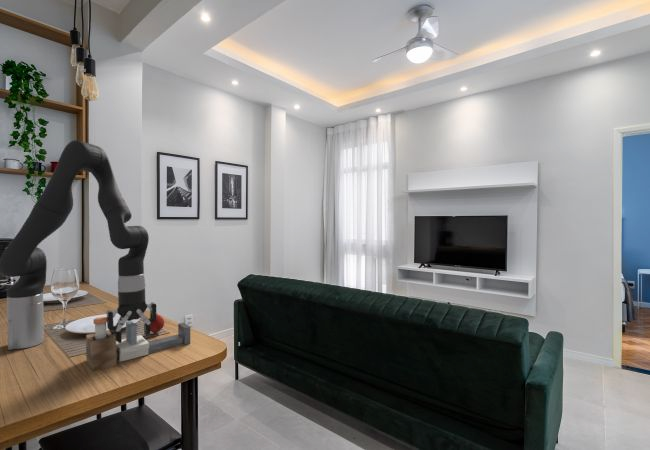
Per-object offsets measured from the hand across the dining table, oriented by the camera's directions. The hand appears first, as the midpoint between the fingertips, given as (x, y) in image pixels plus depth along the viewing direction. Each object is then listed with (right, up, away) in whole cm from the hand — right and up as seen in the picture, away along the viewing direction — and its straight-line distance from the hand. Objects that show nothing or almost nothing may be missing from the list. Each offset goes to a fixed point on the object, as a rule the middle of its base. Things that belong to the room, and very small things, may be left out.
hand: (133, 338), depth 108 cm
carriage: (0, -5, 0) cm, 5 cm away
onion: (-2, -5, +19) cm, 20 cm away
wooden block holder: (-6, -5, -6) cm, 10 cm away
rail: (+3, -5, +3) cm, 7 cm away
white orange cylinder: (-6, 0, -6) cm, 9 cm away
